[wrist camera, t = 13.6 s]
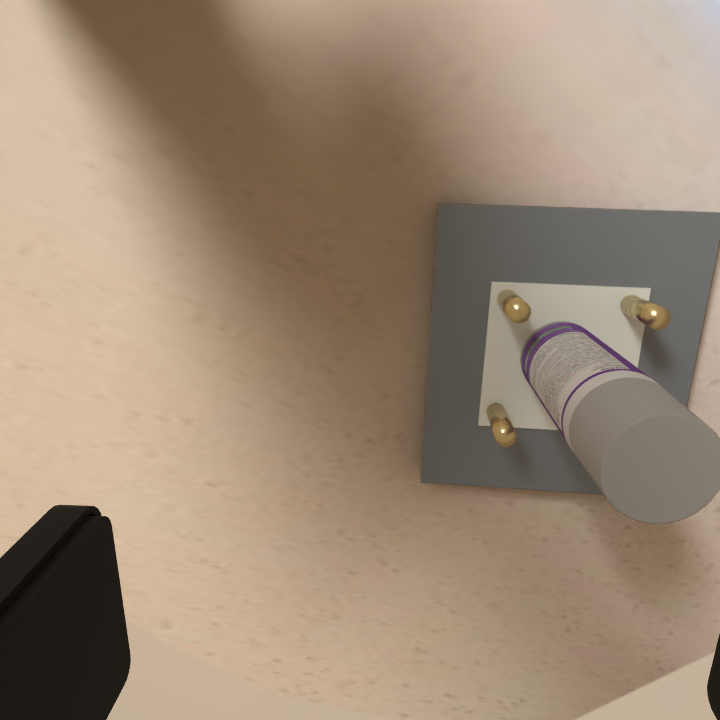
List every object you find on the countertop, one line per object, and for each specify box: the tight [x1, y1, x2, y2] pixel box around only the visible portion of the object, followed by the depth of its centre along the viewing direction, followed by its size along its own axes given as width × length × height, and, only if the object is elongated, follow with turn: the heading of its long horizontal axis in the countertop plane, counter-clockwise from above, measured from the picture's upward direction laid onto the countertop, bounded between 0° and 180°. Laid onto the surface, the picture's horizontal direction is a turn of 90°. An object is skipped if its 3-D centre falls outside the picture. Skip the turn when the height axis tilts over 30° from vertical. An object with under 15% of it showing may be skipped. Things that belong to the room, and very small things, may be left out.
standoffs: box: [486, 289, 671, 447], centre depth 34 cm, size 8×8×4 cm
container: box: [520, 321, 720, 524], centre depth 28 cm, size 5×5×15 cm
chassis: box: [420, 203, 720, 494], centre depth 36 cm, size 18×16×2 cm
